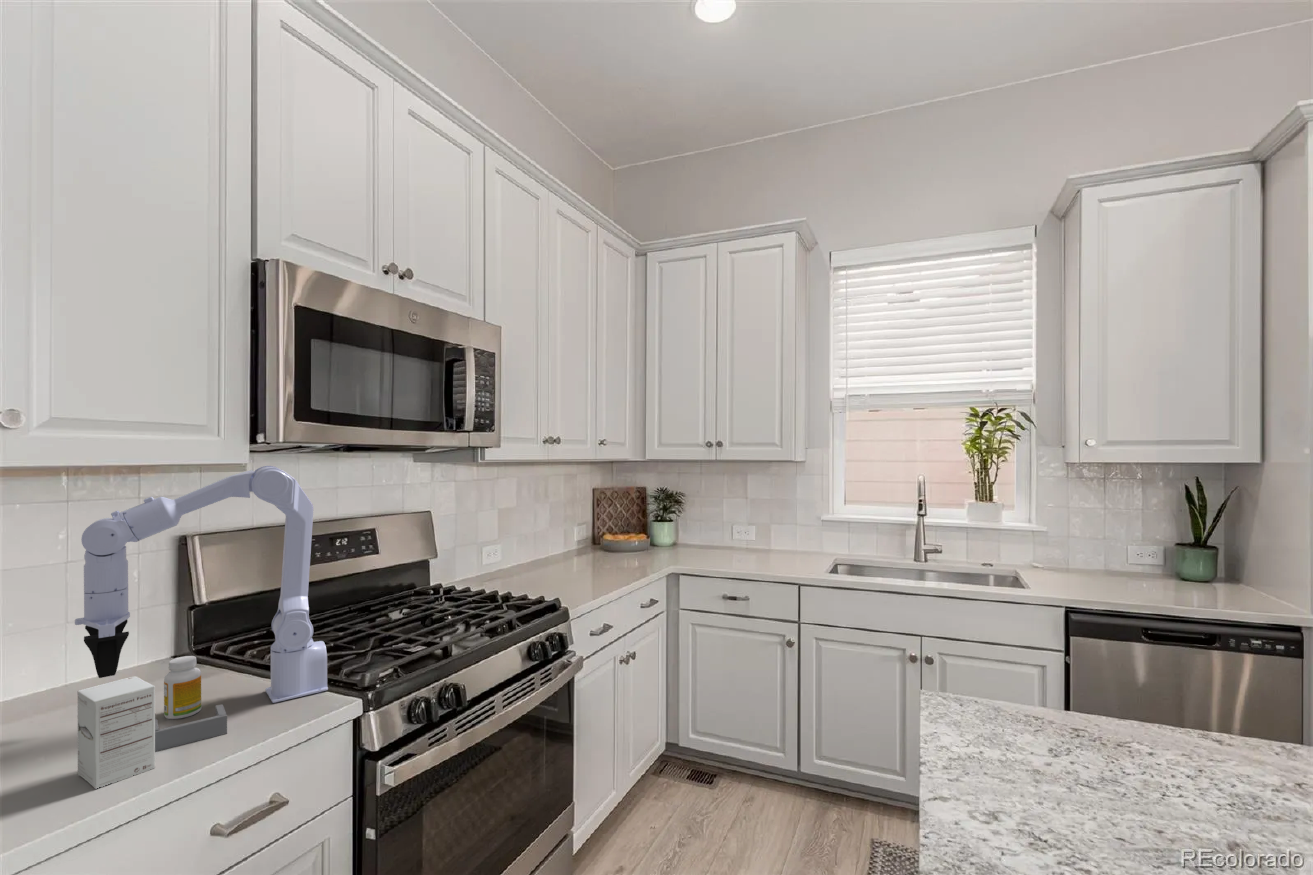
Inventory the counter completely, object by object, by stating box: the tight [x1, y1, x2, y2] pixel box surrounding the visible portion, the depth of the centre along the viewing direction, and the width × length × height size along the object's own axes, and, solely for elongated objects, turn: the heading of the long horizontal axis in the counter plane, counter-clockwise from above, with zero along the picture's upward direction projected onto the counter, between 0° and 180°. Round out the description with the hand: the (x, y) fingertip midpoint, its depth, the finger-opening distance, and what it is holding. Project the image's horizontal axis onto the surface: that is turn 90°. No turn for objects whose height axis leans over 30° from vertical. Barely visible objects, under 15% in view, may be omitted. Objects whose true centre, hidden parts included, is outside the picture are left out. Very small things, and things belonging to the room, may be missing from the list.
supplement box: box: [77, 675, 156, 790], centre depth 95 cm, size 7×7×13 cm
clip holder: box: [155, 703, 228, 752], centre depth 106 cm, size 10×6×3 cm, turn 130°
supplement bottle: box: [163, 655, 202, 720], centre depth 115 cm, size 5×5×10 cm
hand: (106, 669), depth 109 cm, fingers open, 7 cm apart
